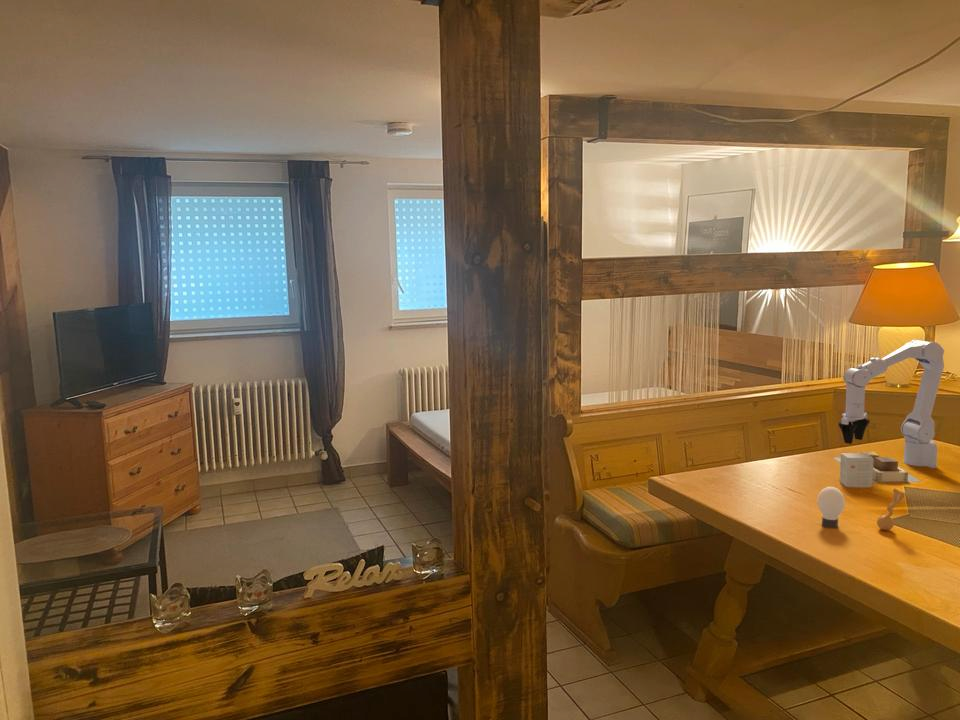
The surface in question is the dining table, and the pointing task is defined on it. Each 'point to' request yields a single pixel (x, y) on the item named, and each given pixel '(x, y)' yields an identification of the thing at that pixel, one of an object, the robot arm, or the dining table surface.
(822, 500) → the light bulb
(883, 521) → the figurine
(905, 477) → the shelf board with lane
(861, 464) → the small box
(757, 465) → the dining table surface
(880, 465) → the walnut block with tether
